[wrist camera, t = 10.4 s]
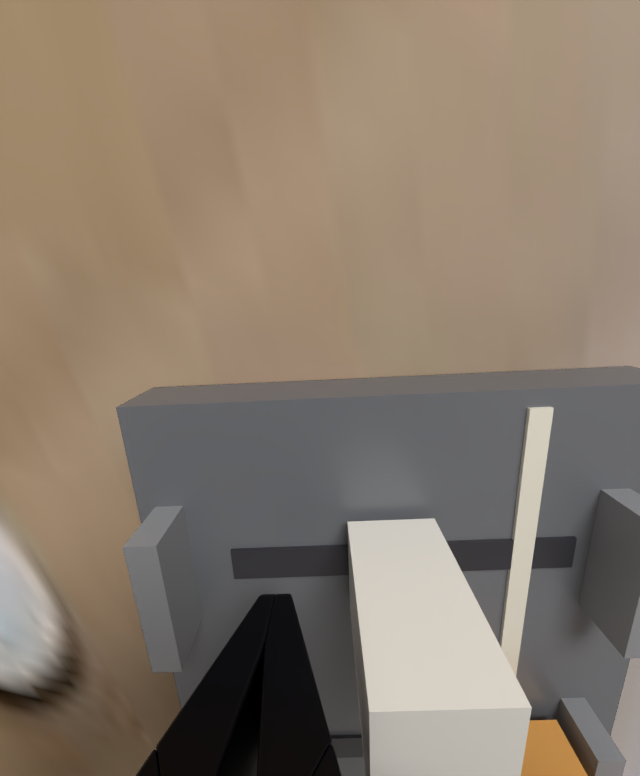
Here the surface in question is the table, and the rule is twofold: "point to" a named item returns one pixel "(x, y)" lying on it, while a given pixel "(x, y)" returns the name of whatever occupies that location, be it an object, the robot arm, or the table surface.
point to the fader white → (428, 660)
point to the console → (397, 502)
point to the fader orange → (549, 752)
